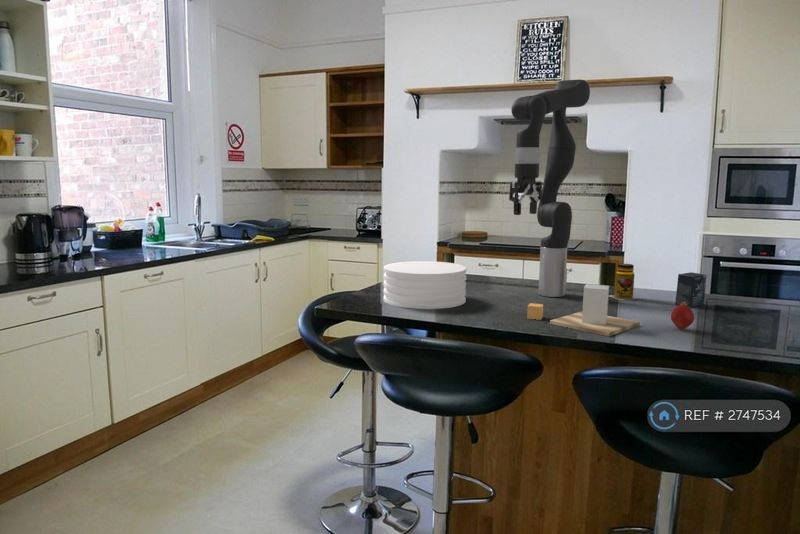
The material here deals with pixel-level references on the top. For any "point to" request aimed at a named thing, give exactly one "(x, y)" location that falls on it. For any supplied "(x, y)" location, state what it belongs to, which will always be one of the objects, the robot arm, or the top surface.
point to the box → (691, 289)
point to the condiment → (624, 282)
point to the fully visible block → (535, 311)
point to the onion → (682, 316)
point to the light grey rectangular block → (595, 304)
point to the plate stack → (424, 284)
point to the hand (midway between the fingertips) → (525, 214)
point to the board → (611, 327)
